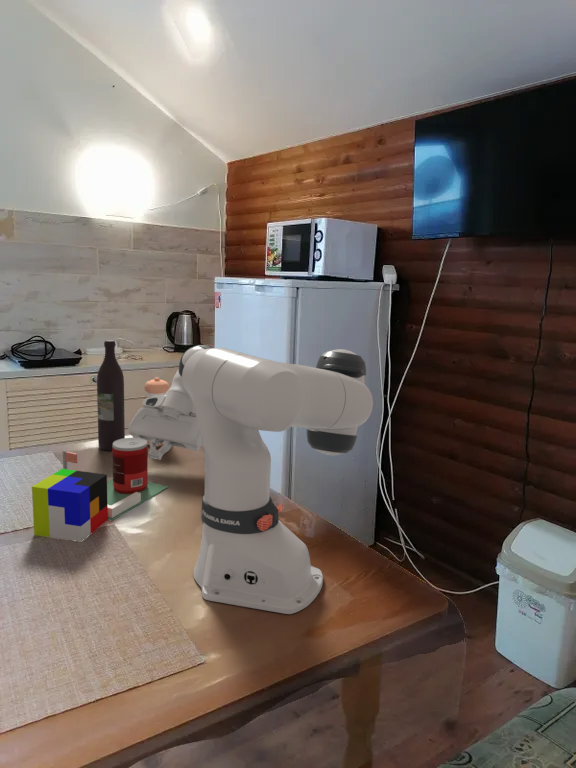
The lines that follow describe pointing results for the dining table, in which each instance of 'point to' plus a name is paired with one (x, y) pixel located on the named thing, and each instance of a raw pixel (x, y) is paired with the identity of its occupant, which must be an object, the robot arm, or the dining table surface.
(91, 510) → the puzzle toy
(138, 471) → the canned food
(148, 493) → the felt runner
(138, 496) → the cup fence
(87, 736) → the dining table surface
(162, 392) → the salt shaker
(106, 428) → the wine bottle
